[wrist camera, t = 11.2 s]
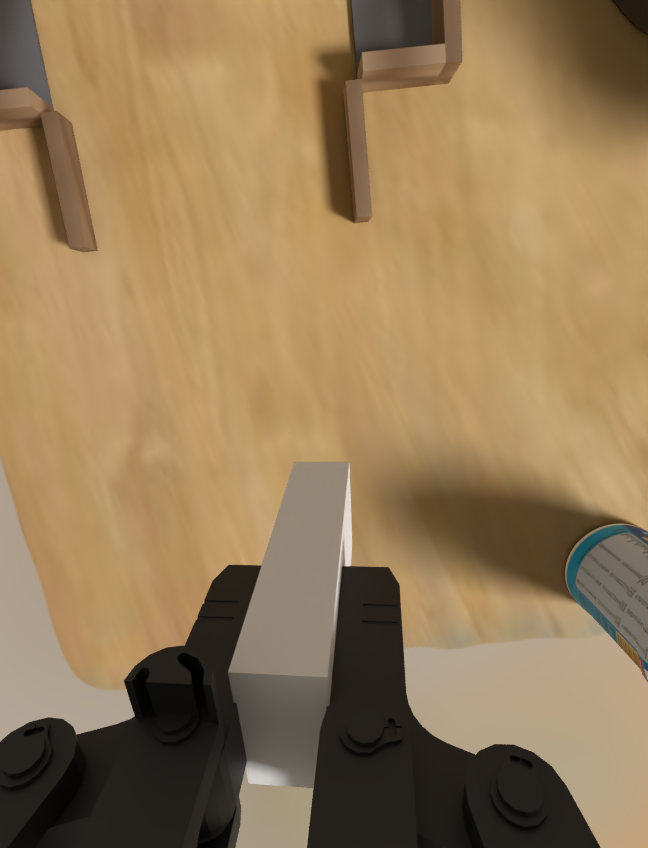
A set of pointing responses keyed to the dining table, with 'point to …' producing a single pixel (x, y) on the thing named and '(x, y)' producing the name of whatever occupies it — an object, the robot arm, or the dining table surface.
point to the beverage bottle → (614, 585)
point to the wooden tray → (376, 70)
